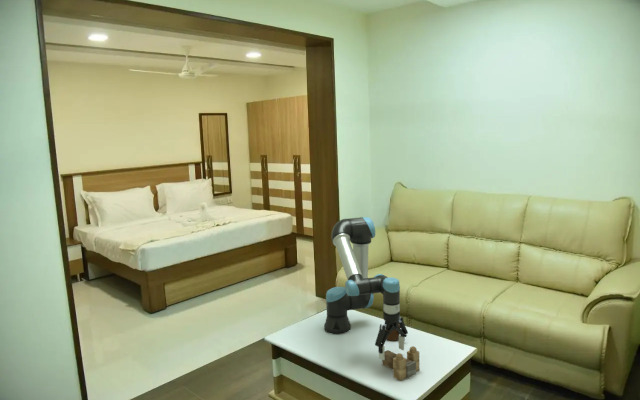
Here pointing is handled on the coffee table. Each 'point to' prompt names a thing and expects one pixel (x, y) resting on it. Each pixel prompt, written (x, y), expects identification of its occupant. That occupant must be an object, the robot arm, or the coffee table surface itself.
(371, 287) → the robot arm
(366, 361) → the coffee table surface
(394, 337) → the mug
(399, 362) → the knobbed wooden twin blocks
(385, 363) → the rail
